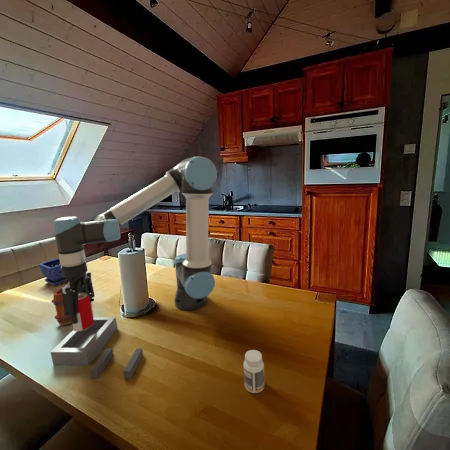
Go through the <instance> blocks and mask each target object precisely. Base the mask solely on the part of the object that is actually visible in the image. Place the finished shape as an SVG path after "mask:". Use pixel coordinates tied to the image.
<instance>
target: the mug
mask: <svg viewBox="0 0 450 450" xmlns="http://www.w3.org/2000/svg"><path fill="white" fill-rule="evenodd" d="M50 301H51V303H52V304H53V305H54V306H55V311H56V315H54V319H56V321H57V323H58V324H59V325H60V326H68V325H71V324H72V322H71V317H70V316H65V314H64V307H63V299H62V294H61V292H60V289H59V290H55V291H54V293H53V299H52V300H50Z"/></svg>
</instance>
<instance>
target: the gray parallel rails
mask: <svg viewBox="0 0 450 450" xmlns="http://www.w3.org/2000/svg"><path fill="white" fill-rule="evenodd" d="M113 356H114V351H113V348H112V347H111V348H110V347H109V348H107V347H106V349H105V350H104V351H103V353H102V354H101V355H100V357H98V359H97V361H96V362H95V363H94V365H93V366H92V368H91V369H90V370H89V373H90V374H89V375H90V379H98V378H99V377H100V375H101V374H102V372H103V371H104V369H105V368H106V366H107V365H108V364H109V362H110V360H111V359H112V357H113ZM143 356H144V351H143V348H141V347H139V348H138V347H137V348H136V349H135V350H134V352H133V354H132V355H131V357H130V359H129V361H128V362H127V364H126V366H125V368H124V369H123V371H122V373H123V378H124V379H132V377H133V375H134V373H135V371H136V369H137V367H138V366H139V364H140V361H141V360H142V358H143Z"/></svg>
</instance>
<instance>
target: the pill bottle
mask: <svg viewBox="0 0 450 450" xmlns="http://www.w3.org/2000/svg"><path fill="white" fill-rule="evenodd" d="M242 365H243V378H244V379H243V384H244V387H245V389H246V391H248V392H249V393H252V394H258V393H261V392H262V391H263V390H264V389H265V363H264V361H263V355H262V353H261V351H258V350H256V349H251V350H248V351H246V352H245V354H244V361H243V364H242Z"/></svg>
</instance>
